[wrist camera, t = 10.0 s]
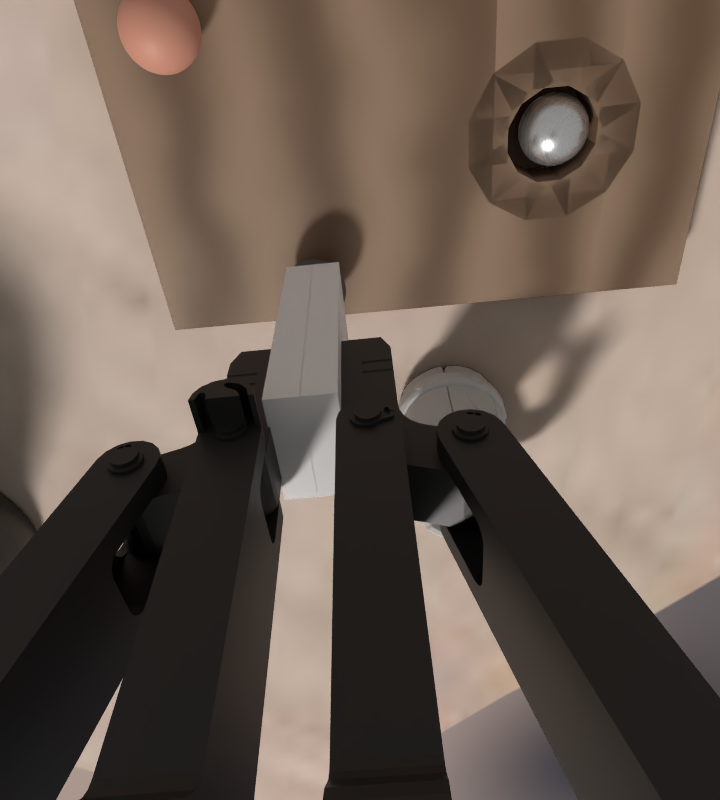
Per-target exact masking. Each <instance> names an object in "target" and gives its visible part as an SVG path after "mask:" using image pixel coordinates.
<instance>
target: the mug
mask: <svg viewBox="0 0 720 800" xmlns="http://www.w3.org/2000/svg"><path fill="white" fill-rule="evenodd" d="M398 406H399V409H400V411H401V412H402V413H403V415H404V416H406V417H407V418H409V419H410V420H413V421H415V422H418V423H422V424H427V425H434V426H438V423H439V421H440V420H441V419H442V418H444V417H445V416H446V415H447V414H450V413H453V412H455V411H458V410H467V409H474V410H482V411H485V412H488V413H491V414H493V415H495V416H496V417H497V418H499V419H500V420H501V421H502V422H503V423H504V424H505V420H506V419H507V414H506V411H505V407H504V404H503V401H502V398H501V396H500V395H499V393H498V391H497V390H496V389H495V388H494V387H493V386H492V385H491V384H490V383H489V382H488V381H486V380H485V379H484V378H483V376H482V375H481V374H480V373H478V372H476V371H474V370H471V369H469V368H466V367H461V366H447V367H446V368H445V370H444V372H443V368H442V367H436V368H433V369H430V370H428V371H426V372H424V373H422V374H421V375H419V376H417V377H416V378H414V379H413V380H412V381H411V382H410V383H409V384H408V385H407V387H406V388H405V389H404V391H403V394H402V395H401V397H400V402H399V405H398ZM420 522H421V521H420ZM421 523H423V524H424V525H425V526H426V528H427V529H428V530H429V531H430V532H432V533H434V534H436V535H439V536H441V537H443V535H442V533H441V530H440V525H438V524H432V523H426V522H421Z"/></svg>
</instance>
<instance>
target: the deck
mask: <svg viewBox="0 0 720 800" xmlns="http://www.w3.org/2000/svg"><path fill="white" fill-rule="evenodd" d="M74 2H75V6H76V9H77V12H78V15H79V19H80V22H81V25H82V28H83V32H84V35H85V38H86V41H87V45H88V48H89V51H90V54H91V58H92V61H93V64H94V67H95V71H96V74H97V77H98V80H99V84H100V87H101V90H102V93H103V97H104V100H105V103H106V106H107V110H108V113H109V116H110V119H111V123H112V126H113V129H114V132H115V136H116V139H117V142H118V145H119V149H120V152H121V155H122V158H123V162H124V165H125V168H126V171H127V175H128V178H129V181H130V184H131V188H132V191H133V194H134V197H135V201H136V204H137V207H138V210H139V214H140V217H141V220H142V223H143V227H144V230H145V233H146V236H147V240H148V243H149V246H150V249H151V253H152V256H153V259H154V262H155V266H156V269H157V272H158V275H159V279H160V282H161V285H162V288H163V292H164V295H165V298H166V301H167V305H168V308H169V311H170V314H171V317H172V321H173V324H174V327H175V330H180V329H191V328H202V327H213V326H224V325H235V324H246V323H257V322H268V321H277V315H278V310H279V305H280V299H281V294H282V289H283V283H284V278H285V273H286V267H294V266H295V265H297V264H298V263H300V262H302V261H305V260H309V259H319V260H324V261H326V262H328V263H334V262H339V267H340V273H341V275H342V277H343V279H344V281H345V285H346V298H345V302H344V309H345V314H355V313H366V312H377V311H388V310H399V309H410V308H421V307H432V306H443V305H454V304H465V303H476V302H487V301H498V300H509V299H520V298H531V297H542V296H553V295H564V294H575V293H586V292H597V291H607V290H618V289H629V288H640V287H651V286H662V285H673V284H676V283H677V279H678V274H679V270H680V265H681V261H682V256H683V252H684V247H685V243H686V238H687V234H688V229H689V225H690V220H691V216H692V212H693V207H694V203H695V198H696V194H697V189H698V185H699V180H700V176H701V171H702V167H703V162H704V158H705V153H706V149H707V144H708V140H709V135H710V131H711V127H712V122H713V118H714V113H715V109H716V104H717V100H718V95H719V91H720V0H189V2H190V3H191V4H192V6H193V7H194V9H195V11H196V13H197V16H198V18H199V22H200V27H201V45H200V49H199V52H198V55H197V57H196V58H195V60H194V61H193V63H192V64H191V65H190V66H189V67H188V68H186V69H185V70H183V71H182V72H179V73H177V74H173V75H159V74H155V73H152V72H149V71H147V70H145V69H144V68H142V67H141V66H139V65H138V64H137V63H136V62H135V61H134V60H133V59H132V58H131V57H130V56H129V54H128V53H127V52H126V50H125V48H124V47H123V44H122V42H121V40H120V37H119V33H118V28H117V13H118V8H119V5H120V3H121V0H74ZM561 86H570V87H572V88H574V90H575V92H576V94H577V96H578V99H579V100H580V101H581V103H582V104H583V105H584V107H585V109H586V111H587V114H588V118H589V131H588V136H587V139H586V141H585V143H584V145H583V147H582V148H581V150H580V151H579V152H578V153H577V154H576V155H575V156H574V157H573V158H571V159H570V160H568V161H567V162H564V163H562V164H559V165H555V166H549V167H545V168H535V169H524V168H522V167H520V166H518V165H517V164H515V163H513V162H512V161H511V159H510V157H509V155H508V153H507V149H508V128H509V126H510V124H511V122H512V121H513V119H514V117H515V115H516V113H517V112H518V110H519V108H520V106H521V104H522V103H524V102H525V101H527V100H528V99H529V98H531V97H532V96H534V95H535V94H537V93H538V92H539V91H541V90H542V89H544V88H551V87H561Z"/></svg>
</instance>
